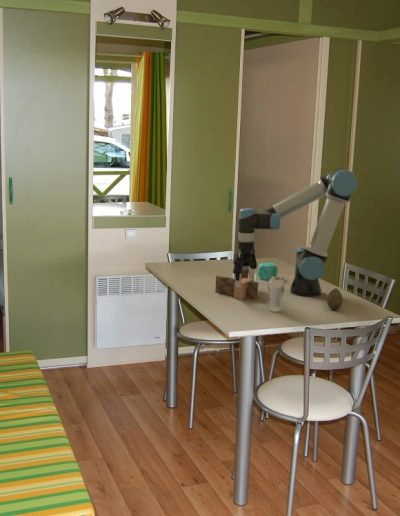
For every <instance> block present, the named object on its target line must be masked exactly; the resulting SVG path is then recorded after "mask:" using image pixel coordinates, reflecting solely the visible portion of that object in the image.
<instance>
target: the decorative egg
mask: <svg viewBox="0 0 400 516" xmlns="http://www.w3.org/2000/svg"><path fill="white" fill-rule="evenodd" d="M343 301H344V299H343V295H342V293H341V291H340V290H339V289H338V288H333V289H332V290H331V291H330V292H329V293H328V295H327V297H326V304H327V307H328V308H329V309H331V310H333V311H336V310H339V309H340V308H341V307H342V305H343Z"/></svg>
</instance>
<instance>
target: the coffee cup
mask: <svg viewBox="0 0 400 516" xmlns="http://www.w3.org/2000/svg"><path fill="white" fill-rule="evenodd" d="M235 262H236V258H235V259H234V260H233V267H234V266H235ZM249 268H250V267H249V264H248V262H247V261H246V262H245V263H244V265H243V268H242V271H241V273H240V274H241V279H243V278H248V279H249ZM233 275H234V276H233V278H236V274H235V273H233Z"/></svg>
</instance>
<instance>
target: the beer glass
mask: <svg viewBox="0 0 400 516" xmlns="http://www.w3.org/2000/svg"><path fill="white" fill-rule="evenodd" d="M284 291H285V277H282V276H276V277H270V279H269V280H268V299H269V304H268V308H267V310H268V312H271V311H272V312H271V313H281V312H282V299H283V297H284ZM280 311H281V312H280Z"/></svg>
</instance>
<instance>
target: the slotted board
mask: <svg viewBox="0 0 400 516" xmlns="http://www.w3.org/2000/svg"><path fill="white" fill-rule="evenodd" d="M234 284H235V278H234V277H231V276H230V277H229V276H224V275H218V274H217V275H216V276H215V287H214V288H215V290H214V292H215V293H220V294H225V295H230V296H234ZM258 292H259V282H258V281H255V280H254V281H250V282H249V289H247V290H246V298H245V299H250V300H251V299H252V300H257V299H258V297H259V296H258V294H259V293H258Z"/></svg>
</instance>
